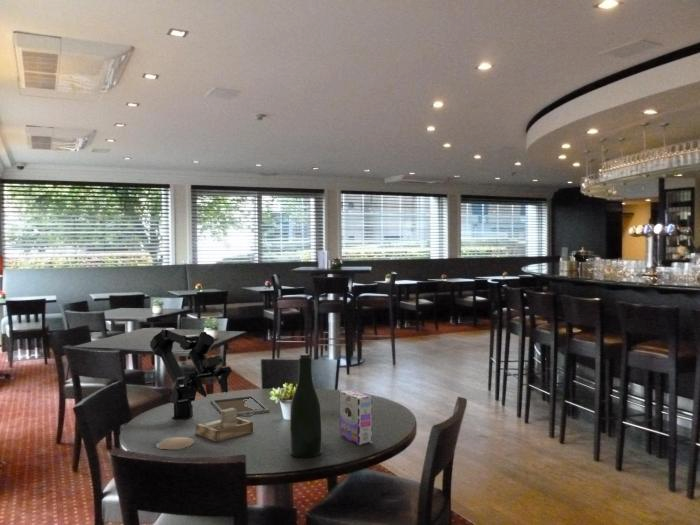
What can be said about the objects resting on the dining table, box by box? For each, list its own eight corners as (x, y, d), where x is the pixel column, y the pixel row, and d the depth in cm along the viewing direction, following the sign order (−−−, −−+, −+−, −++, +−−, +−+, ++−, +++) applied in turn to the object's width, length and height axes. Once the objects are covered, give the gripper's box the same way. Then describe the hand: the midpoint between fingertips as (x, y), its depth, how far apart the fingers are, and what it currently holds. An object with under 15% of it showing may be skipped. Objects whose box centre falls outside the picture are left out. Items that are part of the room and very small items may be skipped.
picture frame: (252, 395, 266) (271, 410, 239) (252, 398, 266) (271, 414, 239) (210, 399, 258) (225, 416, 231) (210, 403, 258) (225, 420, 231)
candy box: (372, 443, 200) (372, 396, 200) (358, 446, 197) (358, 398, 197) (353, 432, 212) (352, 388, 212) (339, 435, 209) (338, 390, 209)
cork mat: (148, 449, 195) (148, 448, 195) (165, 437, 208) (165, 436, 208) (185, 450, 194) (185, 449, 194) (199, 438, 207) (199, 437, 207)
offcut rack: (195, 433, 213) (195, 423, 213) (231, 424, 224) (231, 415, 224) (216, 441, 203) (216, 431, 203) (252, 431, 214) (252, 422, 214)
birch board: (220, 435, 211) (220, 410, 211) (232, 431, 214) (232, 407, 214) (225, 436, 209) (225, 412, 208) (236, 433, 212) (236, 409, 212)
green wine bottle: (293, 460, 184) (292, 357, 184) (287, 449, 194) (286, 352, 194) (325, 456, 187) (324, 355, 187) (317, 446, 197) (317, 350, 197)
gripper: (186, 351, 214) (202, 385, 206) (229, 345, 227) (245, 377, 220) (176, 369, 219) (191, 403, 212) (218, 362, 233) (234, 394, 225)
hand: (216, 394), depth 217 cm, fingers open, 9 cm apart
